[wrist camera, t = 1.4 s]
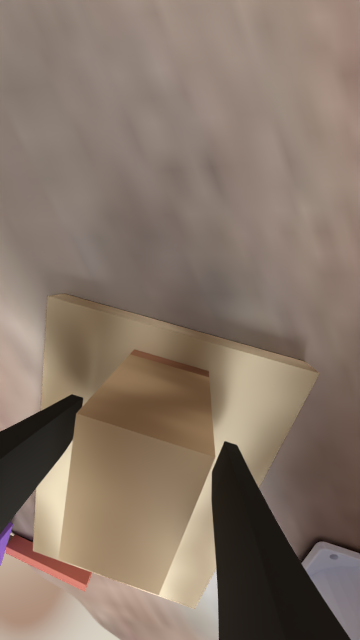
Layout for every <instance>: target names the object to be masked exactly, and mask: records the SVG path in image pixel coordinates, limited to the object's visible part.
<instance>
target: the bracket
mask: <svg viewBox="0 0 360 640" xmlns="http://www.w3.org/2000/svg"><path fill="white" fill-rule="evenodd" d="M12 526H13V524H12V523H10V522H9V523H8V525H7V526H6V527H5V529H4V530H3V532H2V533H1V534H0V565H1V563H2V559H3V556H4V553H5V550H6V546H7V543H8V540H9V536H10V533H11V530H12Z"/></svg>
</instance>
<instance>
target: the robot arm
mask: <svg viewBox="0 0 360 640" xmlns="http://www.w3.org/2000/svg"><path fill="white" fill-rule="evenodd" d="M82 405H83V397H79V396H76V395H73V394H71V395H70V396H68V397H66V398H64V399H62V400H60V401H58V402H56V403H55V404H53V405H51V406H49V407H47V408H45V409H43V410H42V411H40V412H38V413H36V414H34V415H32V416H30V417H28V418H26V419H24V420H23V421H21V422H19V423H17V424H15V425H13V426H11V427H9V428H7V429H5V430H3V431H1V432H0V534H1V533H2V532H3V530H4V529H5V527H6V526H7V525H8V523H9V522H10V521H11V519H12V518H13V517H14V515H15V514H16V513H17V511H18V510H19V509H20V508H21V506H22V505H23V504H24V503H25V501H26V500H27V499H28V498H29V496H30V495H31V494H32V493H33V491H34V490H35V489H36V488H37V486H38V485H39V484H40V483H41V481H42V480H43V479H44V478H45V476H46V475H47V474H48V473H49V471H50V470H51V469H52V468H53V466H54V465H55V464H56V462H57V461H58V460H59V459H60V457H61V456H62V455H63V454H64V452H65V451H66V449H67V448H68V446H69V445H70V443H71V442H72V440H73V436H74V428H75V420H76V413H77V412H78V411H79V410H80V409H81V408H82ZM211 501H212V515H213V529H214V543H215V556H216V569H217V584H218V612H219V640H360V553H357V552H354V551H351V550H348V549H345V548H342V547H339V546H336V545H333V544H330V543H327V542H318V543H316V545H315V546H314V547H313V549H312V550H311V551H310V553H309V554H308V555H307V557H306V558H305V559H304V561H303V562H302V563H301V562H300V561H299V559H298V557H297V556H296V554H295V552H294V551H293V549H292V547H291V546H290V544H289V542H288V540H287V539H286V537H285V535H284V533H283V532H282V530H281V528H280V526H279V525H278V523H277V521H276V519H275V518H274V516H273V514H272V512H271V510H270V508H269V507H268V505H267V503H266V501H265V499H264V497H263V495H262V493H261V491H260V490H259V488H258V486H257V484H256V482H255V480H254V478H253V476H252V474H251V472H250V470H249V468H248V466H247V464H246V462H245V460H244V458H243V456H242V454H241V452H240V450H239V448H238V446H237V445H236V444H233V443H229V442H226V441H224V444H223V446H222V448H221V451H220V453H219V456H218V458H217V460H216V463H215V465H214V468H213V470H212V491H211Z"/></svg>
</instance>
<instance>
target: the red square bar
mask: <svg viewBox="0 0 360 640" xmlns="http://www.w3.org/2000/svg"><path fill="white" fill-rule="evenodd" d="M6 554H9V555H11V556H13V557H15V558H17V559H19V560H21V561H23V562H25V563H27V564H29V565H31V566H33V567H35V568H37V569H39V570H42V571H44V572H46V573H48V574H50V575H52V576H54V577H56V578H58V579H60V580H62V581H64V582H66V583H68V584H70V585H72V586H75V587H77V588H79V589H81V590H83V591H85V590H86V587H87V585H88V583H89V580H90V578H91V574H92V572H90V571H87V570H84V569H81V568H79V567H76V566H73V565H70V564H67V563H65V562H62V561H59V560H56V559H53V558H51V557H48V556H45V555H42V554H40V553H37V552H34V551H33V542H30V541H28V540H26V539H24V538H22V537H20V536H18V535H14V536H11V535H10V536H9V540H8V543H7V546H6Z"/></svg>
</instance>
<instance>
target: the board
mask: <svg viewBox="0 0 360 640" xmlns="http://www.w3.org/2000/svg"><path fill="white" fill-rule="evenodd" d="M134 349H135V350H138V351H142V352H145V353H149V354H152V355H156V356H159V357H162V358H166V359H169V360H173V361H176V362H179V363H183V364H186V365H190V366H193V367H197V368H200V369H203V370H207V371H209V380H210V394H211V407H212V420H213V433H214V446H215V459H214V462H213V464H212V467H211V469H210V472H209V474H208V476H207V479H206V481H205V484H204V486H203V489H202V491H201V493H200V496H199V498H198V501H197V503H196V506H195V508H194V510H193V513H192V515H191V518H190V520H189V523H188V525H187V528H186V530H185V532H184V535H183V537H182V540H181V542H180V545H179V547H178V549H177V552H176V554H175V557H174V559H173V562H172V564H171V567H170V569H169V571H168V574H167V576H166V579H165V581H164V584H163V586H162V588H161V591H160V593H159V595H157V596H160V597H162V598H165V599H168V600H171V601H174V602H176V603H179V604H182V605H185V606H188V607H190V608H193V609H195V608H196V606H197V604H198V602H199V600H200V598H201V596H202V594H203V593H204V591H205V589H206V587H207V585H208V583H209V581H210V579H211V578H212V576H213V574H214V572H215V570H216V556H215V543H214V529H213V515H212V501H211V491H212V470H213V468H214V465H215V463H216V460H217V458H218V456H219V453H220V451H221V448H222V446H223V444H224V441H226V442H229V443H233V444H236V445H237V446H238V448H239V450H240V452H241V454H242V456H243V458H244V460H245V462H246V464H247V466H248V468H249V470H250V472H251V474H252V476H253V478H254V480H255V482H256V484H257V486H258V488H259V487H260V485H261V483H262V481H263V479H264V478H265V476H266V474H267V472H268V470H269V468H270V466H271V464H272V462H273V461H274V459H275V457H276V455H277V453H278V451H279V449H280V447H281V445H282V444H283V442H284V440H285V438H286V436H287V434H288V432H289V430H290V428H291V427H292V425H293V423H294V421H295V419H296V417H297V415H298V413H299V411H300V410H301V408H302V406H303V404H304V402H305V400H306V398H307V396H308V395H309V393H310V391H311V389H312V387H313V385H314V383H315V381H316V379H317V378H318V376H319V374H320V373H318V372H317V371H316V370H315V369H314V368H312V367H311V366H310V365H309V364H308V363H306V362H305V361H301V360H297V359H294V358H290V357H287V356H283V355H280V354H276V353H273V352H269V351H266V350H262V349H259V348H255V347H251V346H248V345H244V344H241V343H237V342H234V341H230V340H227V339H223V338H220V337H216V336H213V335H209V334H205V333H202V332H198V331H195V330H191V329H188V328H184V327H181V326H177V325H174V324H170V323H167V322H163V321H159V320H156V319H152V318H149V317H145V316H142V315H138V314H135V313H131V312H128V311H124V310H120V309H117V308H113V307H110V306H106V305H103V304H99V303H96V302H92V301H89V300H85V299H82V298H78V297H74V296H71V295H67V294H58V295H51V296H47V309H46V327H45V344H44V362H43V379H42V397H41V411H42V410H43V409H45V408H47V407H49V406H51V405H53V404H55V403H56V402H58V401H60V400H62V399H64V398H66V397H68V396H70V395H71V394H73V395H76V396H79V397H83V405H84V404H85V403H86V402H87V401H88V400H89V399H90V398H91V397H92V395H93V394H94V393H95V392H96V391H97V390H98V389H99V388H100V387H101V385H102V384H103V383H104V382H105V381H106V380H107V379H108V378H109V377H110V376H111V374H112V373H113V372H114V371H115V370H116V369H117V368H118V367H119V366H120V364H121V363H122V362H123V361H124V360H125V359H126V358H127V357H128V356H129V355H130V353H131V352H132V351H133V350H134ZM83 405H82V406H83ZM72 444H73V440H72V442H71V443H70V445H69V446H68V448H67V449H66V451H65V452H64V454H63V455H62V456H61V457H60V459H59V460H58V461H57V462H56V464H55V465H54V466H53V468H52V469H51V470H50V471H49V473H48V474H47V475H46V476H45V478H44V479H43V480H42V481H41V483H40V484H39V485H38V486H37V488H36V502H35V520H34V538H33V551H34V552H37V553H40V554H42V555H45V556H48V557H51V558H53V559H56V560H58V558H59V550H60V542H61V534H62V526H63V518H64V509H65V501H66V493H67V485H68V477H69V469H70V460H71V452H72ZM59 561H61V560H59ZM62 562H64V561H62ZM65 563H67V562H65ZM67 564H70V563H67ZM70 565H72V564H70ZM73 566H75V565H73ZM76 567H78V566H76ZM79 568H81V567H79ZM81 569H84V568H81ZM84 570H86V569H84ZM87 571H89V570H87ZM90 572H92V571H90ZM93 573H95V572H93ZM95 574H98V573H95ZM98 575H100V574H98ZM101 576H103V575H101ZM104 577H106V576H104ZM107 578H109V577H107ZM109 579H111V578H109ZM112 580H114V579H112ZM115 581H117V580H115ZM118 582H120V581H118ZM121 583H123V582H121ZM123 584H125V583H123ZM126 585H128V584H126ZM129 586H131V585H129ZM132 587H134V586H132ZM134 588H137V587H134ZM137 589H139V588H137ZM140 590H142V589H140ZM143 591H145V590H143ZM146 592H148V591H146ZM148 593H151V592H148ZM151 594H153V593H151ZM154 595H156V594H154Z"/></svg>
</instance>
